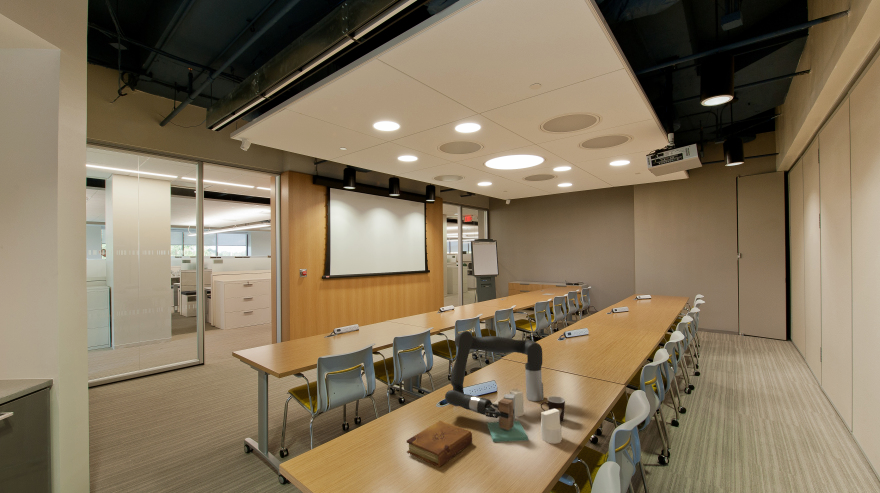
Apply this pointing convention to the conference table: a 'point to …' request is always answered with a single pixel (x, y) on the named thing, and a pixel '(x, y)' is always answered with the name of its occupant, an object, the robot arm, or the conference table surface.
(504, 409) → the walnut brick
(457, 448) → the diary
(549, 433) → the base with upright slab
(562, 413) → the coffee mug
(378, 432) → the conference table surface
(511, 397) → the grey brick
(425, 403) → the conference table surface
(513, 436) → the teal board
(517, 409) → the off-white brick
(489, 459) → the conference table surface
